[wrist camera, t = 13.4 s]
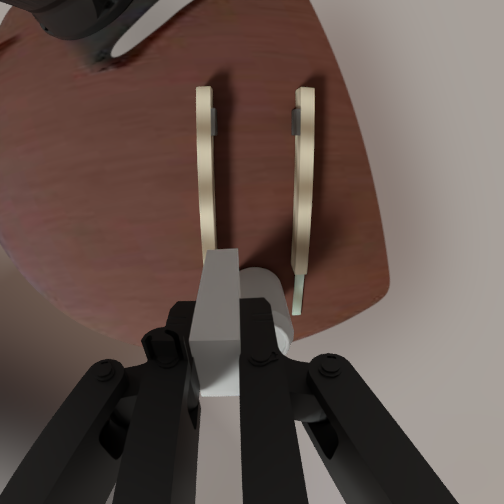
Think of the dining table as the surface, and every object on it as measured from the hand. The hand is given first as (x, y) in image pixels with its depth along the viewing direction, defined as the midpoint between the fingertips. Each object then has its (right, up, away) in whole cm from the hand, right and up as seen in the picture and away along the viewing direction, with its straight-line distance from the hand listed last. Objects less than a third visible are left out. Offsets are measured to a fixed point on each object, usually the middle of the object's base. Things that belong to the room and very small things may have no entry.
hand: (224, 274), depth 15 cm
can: (+2, -4, +25) cm, 26 cm away
